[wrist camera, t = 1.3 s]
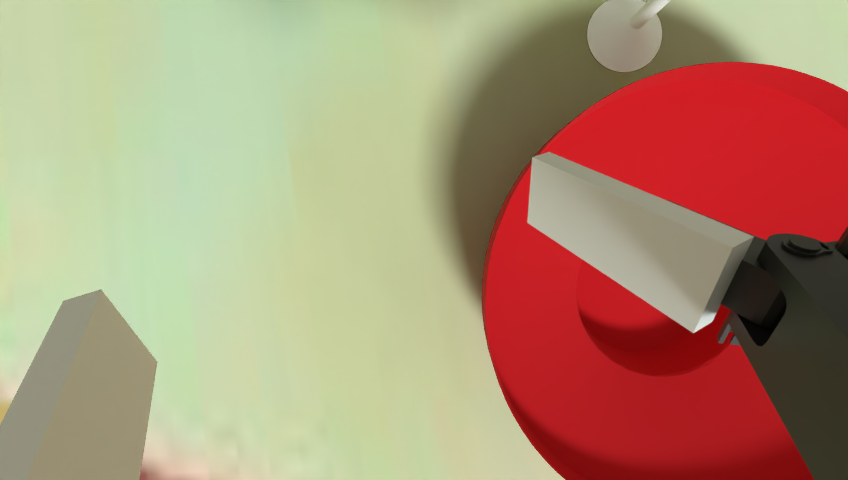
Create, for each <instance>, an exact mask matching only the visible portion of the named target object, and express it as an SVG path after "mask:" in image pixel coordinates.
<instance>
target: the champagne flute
mask: <svg viewBox="0 0 848 480" xmlns="http://www.w3.org/2000/svg"><path fill="white" fill-rule="evenodd" d="M669 1H670V0H648V1H647V2H644V1H642V0H608V1H606V2H604V3H603V4H602V5H600V6H599V7H598V8H597V10H596V11H595V12H594V13H593V15H592V17H591V19H590V22H589V24H588V30H587V41H588V45H589V48H590V50H591V52H592V54H593V56H594V57H595V58H596V60H597V61H598V62H599V63H601V64H602V65H603V66H605V67H606V68H608V69H610V70H613V71H617V72H632V71H635V70H638V69H640V68H642V67H644V66H646V65H647V64H648V63H649V62H651V60H652V59H653V58H654V57H655V56H656V54H657V52H658V50H659V48H660V45H661V41H662V26H661V23H660V20H659V18H658V15H657V14H656V13H658V12H659V11H660V10H661V9H662V8H663V7H664V6H665V5H666V4H667V3H668V2H669Z"/></svg>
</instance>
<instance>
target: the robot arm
mask: <svg viewBox="0 0 848 480" xmlns="http://www.w3.org/2000/svg"><path fill="white" fill-rule="evenodd" d="M527 223H528V224H530V225H532V226H533V227H535V228H536V229H538V230H539V231H541V232H542V233H544V234H545V235H547V236H548V237H550V238H551V239H553V240H554V241H556V242H557V243H559V244H560V245H562V246H563V247H565V248H566V249H568V250H569V251H571V252H572V253H574V254H575V255H577V256H578V257H580V258H581V259H583V260H584V261H586V262H587V263H589V264H590V265H592V266H593V267H595V268H596V269H598V270H599V271H601V272H602V273H604V274H605V275H607V276H608V277H610V278H611V279H613V280H614V281H616V282H617V283H619V284H620V285H622V286H623V287H625V288H626V289H628V290H629V291H631V292H632V293H634V294H635V295H637V296H638V297H640V298H641V299H643V300H644V301H646V302H647V303H649V304H650V305H652V306H653V307H655V308H656V309H658V310H659V311H661V312H662V313H664V314H665V315H667V316H668V317H670V318H671V319H673V320H674V321H676V322H677V323H679V324H680V325H682V326H683V327H685V328H686V329H688V330H689V331H691V332H692V333H695V332H696V331H698V330H699V329H701V328H703V327H704V326H706V325H708V324H709V323H711V322H712V321H713V319H714V317H715V315H716V313H717V311H718V309H719V307H720V305H723V306H725V307H727V308H728V309H730V312H729V314H728V316H727V318H726V320H725V322H724V323H723V325H722V327H721V329H720V331H719V333H718V335H717V340H718V343H723V342H724V340H725V339H726V337H727V335H728V333H729V332H733V333H734V334H733V336H732V338H731V339H730V344H732V345H741V347H742V349H743V351H744V353H745V354H746V356H747V358H748V360H749V362H750V363H751V365H752V367H753V369H754V371H755V373H756V374H757V376H758V378H759V380H760V382H761V383H762V385H763V387H764V389H765V391H766V393H767V394H768V396H769V398H770V400H771V402H772V403H773V405H774V407H775V409H776V411H777V413H778V414H779V416H780V418H781V420H782V422H783V423H784V425H785V427H786V429H787V431H788V433H789V434H790V436H791V438H792V440H793V442H794V443H795V445H796V447H797V449H798V451H799V453H800V454H801V456H802V458H803V460H804V462H805V463H806V465H807V467H808V469H809V471H810V473H811V474H812V476H813V478H814V480H848V227H847V228H846V229H845V231H844V233H843V234H842V236H841V237H840V239H839V240H838V241H832V242H821V241H819V240H817V239H814V238H810V237H807V236H803V235H797V234H789V233H782V234H774V235H772V236H769V237H768V239H767V240H765V239H762V238H759V237H756V236H754V235H752V234H749V233H747V232H744V231H742V230H739V229H737V228H735V227H732V226H730V225H727V224H725V223H722V222H720V221H718V220H715V219H713V218H710V217H708V216H703V215H702V214H701V213H698V212H696V211H693V210H689V209H687V208H686V207H684V206H681V205H679V204H676V203H674V202H671V201H669V200H664V199H662V198H660V197H657V196H655V195H652V194H650V193H647V192H645V191H643V190H640V189H638V188H635V187H633V186H630V185H628V184H626V183H623V182H621V181H618V180H616V179H614V178H611V177H609V176H606V175H604V174H601V173H599V172H597V171H594V170H592V169H589V168H587V167H585V166H582V165H580V164H577V163H575V162H572V161H570V160H568V159H565V158H563V157H560V156H558V155H556V154H553V153H551V152H547V153H544V154H540V155H537V156H534V157H532V167H531V180H530V194H529V207H528V220H527ZM156 367H157V361H156V360H155V358H154V357H153V356H152V354H151V353H150V352H149V351H148V349H147V348H146V347H145V345H144V344H143V343H142V342H141V340H140V339H139V338H138V336H137V335H136V334H135V333H134V331H133V330H132V329H131V327H130V326H129V325H128V323H127V322H126V321H125V320H124V318H123V317H122V316H121V314H120V313H119V312H118V311H117V309H116V308H115V307H114V305H113V304H112V303H111V302H110V300H109V299H108V298H107V296H106V295H105V294H104V293H103V291H102V290H98V291H95V292H91V293H88V294H85V295H82V296H78V297H75V298H72V299H68V300H65V301H63V303H62V305H61V307H60V308H59V310H58V312H57V314H56V316H55V318H54V320H53V322H52V324H51V326H50V328H49V330H48V332H47V334H46V336H45V338H44V340H43V342H42V344H41V346H40V348H39V350H38V352H37V354H36V356H35V358H34V360H33V362H32V364H31V365H30V367H29V369H28V371H27V373H26V375H25V377H24V379H23V381H22V383H21V385H20V387H19V389H18V391H17V393H16V395H15V397H14V399H13V401H12V403H11V405H10V407H9V409H8V411H7V413H6V415H5V417H4V419H3V421H2V422H1V425H0V480H139V479H140V472H141V465H142V459H143V452H144V446H145V439H146V432H147V426H148V419H149V413H150V406H151V400H152V393H153V386H154V380H155V373H156Z"/></svg>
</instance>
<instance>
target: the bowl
mask: <svg viewBox="0 0 848 480" xmlns="http://www.w3.org/2000/svg"><path fill="white" fill-rule="evenodd" d="M547 152H551V153H553V154H556V155H558V156H560V157H563V158H565V159H568V160H570V161H572V162H575V163H577V164H580V165H582V166H585V167H587V168H589V169H592V170H594V171H597V172H599V173H601V174H604V175H606V176H609V177H611V178H614V179H616V180H618V181H621V182H623V183H626V184H628V185H630V186H633V187H635V188H638V189H640V190H643V191H645V192H647V193H650V194H652V195H655V196H657V197H660V198H662V199H664V200H669V201H671V202H674V203H676V204H679V205H681V206H684V207H686V208H687V209H689V210H693V211H696V212H698V213H701V214H702V215H703V216H708V217H710V218H713V219H715V220H718V221H720V222H722V223H725V224H727V225H730V226H732V227H735V228H737V229H739V230H742V231H744V232H747V233H749V234H752V235H754V236H756V237H759V238H762V239H765V240H767V239H768V237H769V236H772V235H774V234H782V233H789V234H797V235H803V236H807V237H810V238H814V239H817V240H819V241H821V242H832V241H838V240H839V239H840V237H841V236H842V234H843V233H844V231H845V229H846V228H847V227H848V92H847V91H846V90H844V89H842V88H840V87H838V86H836V85H834V84H831V83H829V82H827V81H825V80H822V79H819V78H816V77H814V76H811V75H808V74H805V73H801V72H798V71H795V70H791V69H787V68H782V67H777V66H773V65H765V64H756V63H744V62H721V63H707V64H699V65H693V66H687V67H681V68H677V69H673V70H669V71H666V72H662V73H658V74H655V75H653V76H650V77H647V78H644V79H641V80H639V81H637V82H634V83H632V84H630V85H628V86H626V87H623V88H621V89H619V90H617V91H616V92H614V93H612V94H610V95H608V96H607V97H605V98H603V99H602V100H600V101H599V102H597V103H596V104H594V105H593V106H591V107H590V108H588V109H587V110H585V111H584V112H583V113H582V114H580V115H579V116H578V117H576V118H575V119H574V120H572V121H571V122H570V123H569V124H567V125H566V126H565V127H564V128H563V129H561V130H560V131H559V132H558V133H557V134H555V135H554V136H553V137H552V138H551V139H550V140H549V141H548V142H547V143H546V144H545V145H544V146H543V147H542V148H541V149H540V150H539V151H538V153H537V154H536V155H535V156H537V155H540V154H544V153H547ZM531 167H532V159H531V161H530V162H529V163H528V165H527V166H526V167H525V169H524V170H523V171H522V173H521V174H520V176H519V177H518V179H517V180H516V182H515V183H514V185H513V187H512V189H511V190H510V192H509V194H508V196H507V198H506V199H505V201H504V203H503V206H502V208H501V210H500V213H499V215H498V217H497V220H496V222H495V225H494V228H493V231H492V234H491V237H490V241H489V245H488V249H487V253H486V259H485V264H484V272H483V281H482V313H483V323H484V330H485V335H486V340H487V345H488V350H489V353H490V356H491V360H492V363H493V367H494V370H495V373H496V376H497V379H498V382H499V385H500V387H501V390H502V392H503V395H504V397H505V400H506V402H507V404H508V406H509V408H510V410H511V412H512V414H513V416H514V417H515V419H516V421H517V423H518V424H519V426H520V428H521V429H522V431H523V432H524V434H525V435H526V436H527V438H528V439H529V441H530V442H531V444H532V445H533V446H534V447H535V449H536V450H537V451H538V452H539V453H540V455H541V456H542V457H543V458H544V459H545V461H546V462H547V463H548V464H549V465H550V466H551V467H552V468H553V469H554V470H555V471H556V472H557V473H558V474H560V475H561V476H562V477H563V478H564V479H565V480H814V478H813V476H812V474H811V473H810V471H809V469H808V467H807V465H806V463H805V462H804V460H803V458H802V456H801V454H800V453H799V451H798V449H797V447H796V445H795V443H794V442H793V440H792V438H791V436H790V434H789V433H788V431H787V429H786V427H785V425H784V423H783V422H782V420H781V418H780V416H779V414H778V413H777V411H776V409H775V407H774V405H773V403H772V402H771V400H770V398H769V396H768V394H767V393H766V391H765V389H764V387H763V385H762V383H761V382H760V380H759V378H758V376H757V374H756V373H755V371H754V369H753V367H752V365H751V363H750V362H749V360H748V358H747V356H746V354H745V353H744V351H743V349H742V347H741V345H732V344H730V339H731V338H732V336H733V334H734V333H733V332H729V333H728V335H727V337H726V339H725V340H724V342H723V343H718V340H717V335H718V333H719V331H720V329H721V327H722V325H723V323H724V322H725V320H726V318H727V316H728V314H729V312H730V309H728V308H727V307H725V306H723V305H720V307H719V309H718V311H717V313H716V315H715V317H714V319H713V321H712V322H711V323H709V324H708V325H706V326H704V327H703V328H701V329H699V330H698V331H696V332H695V333H692V332H691V331H689V330H688V329H686V328H685V327H683V326H682V325H680V324H679V323H677V322H676V321H674V320H673V319H671V318H670V317H668V316H667V315H665V314H664V313H662V312H661V311H659V310H658V309H656V308H655V307H653V306H652V305H650V304H649V303H647V302H646V301H644V300H643V299H641V298H640V297H638V296H637V295H635V294H634V293H632V292H631V291H629V290H628V289H626V288H625V287H623V286H622V285H620V284H619V283H617V282H616V281H614V280H613V279H611V278H610V277H608V276H607V275H605V274H604V273H602V272H601V271H599V270H598V269H596V268H595V267H593V266H592V265H590V264H589V263H587V262H586V261H584V260H583V259H581V258H580V257H578V256H577V255H575V254H574V253H572V252H571V251H569V250H568V249H566V248H565V247H563V246H562V245H560V244H559V243H557V242H556V241H554V240H553V239H551V238H550V237H548V236H547V235H545V234H544V233H542V232H541V231H539V230H538V229H536V228H535V227H533V226H532V225H530V224H528V223H527V220H528V207H529V194H530V180H531Z"/></svg>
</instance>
